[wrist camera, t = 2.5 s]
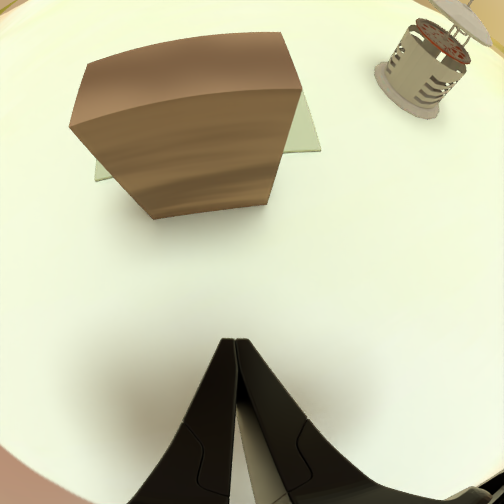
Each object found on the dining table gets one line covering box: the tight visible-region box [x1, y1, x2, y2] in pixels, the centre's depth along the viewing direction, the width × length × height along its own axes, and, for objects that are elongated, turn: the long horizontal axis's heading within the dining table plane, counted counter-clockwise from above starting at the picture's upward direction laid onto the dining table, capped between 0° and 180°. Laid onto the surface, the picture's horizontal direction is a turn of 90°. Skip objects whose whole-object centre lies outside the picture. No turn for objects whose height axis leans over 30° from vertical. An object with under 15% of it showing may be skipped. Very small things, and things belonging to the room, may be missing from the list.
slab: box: [69, 32, 302, 220], centre depth 15 cm, size 4×9×13 cm, turn 98°
